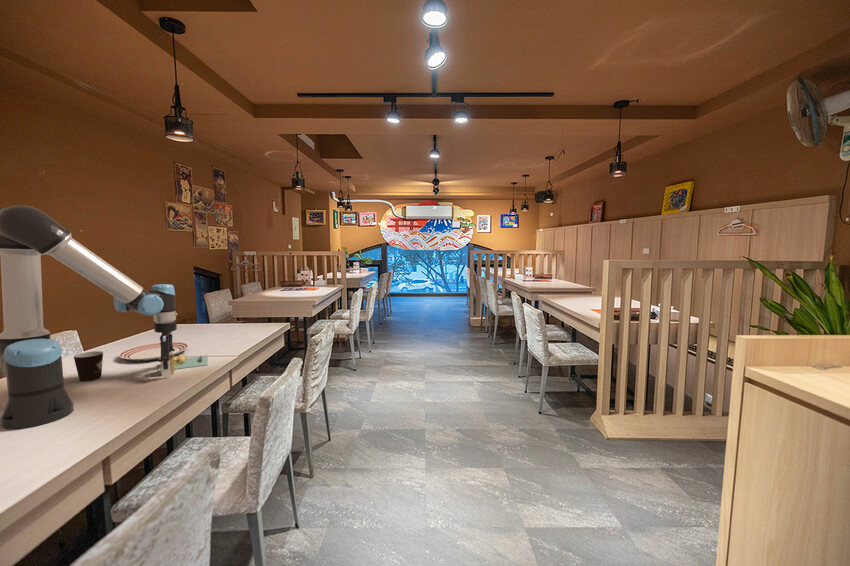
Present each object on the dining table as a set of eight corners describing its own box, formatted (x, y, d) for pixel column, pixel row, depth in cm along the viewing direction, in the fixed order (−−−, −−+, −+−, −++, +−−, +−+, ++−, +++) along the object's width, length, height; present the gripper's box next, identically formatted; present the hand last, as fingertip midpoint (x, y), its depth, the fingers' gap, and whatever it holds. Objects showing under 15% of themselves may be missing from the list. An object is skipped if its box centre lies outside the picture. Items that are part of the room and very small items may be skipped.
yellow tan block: (173, 374, 150) (172, 358, 149) (159, 376, 147) (158, 359, 147) (174, 370, 155) (173, 354, 154) (160, 372, 152) (160, 356, 152)
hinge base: (207, 365, 162) (206, 357, 161) (157, 371, 153) (157, 363, 152) (207, 356, 176) (207, 348, 175) (162, 361, 166) (161, 353, 166)
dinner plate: (153, 366, 161) (153, 359, 160) (102, 362, 165) (102, 355, 165) (202, 349, 188) (201, 343, 187) (157, 346, 192) (156, 340, 192)
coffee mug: (87, 383, 139) (85, 358, 138) (69, 381, 141) (67, 356, 140) (118, 373, 150) (116, 350, 149) (101, 371, 152) (99, 348, 151)
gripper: (173, 326, 140) (176, 379, 142) (178, 315, 162) (181, 362, 164) (149, 328, 137) (153, 382, 139) (157, 317, 158) (160, 364, 160)
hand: (168, 371), depth 151 cm, fingers open, 13 cm apart
